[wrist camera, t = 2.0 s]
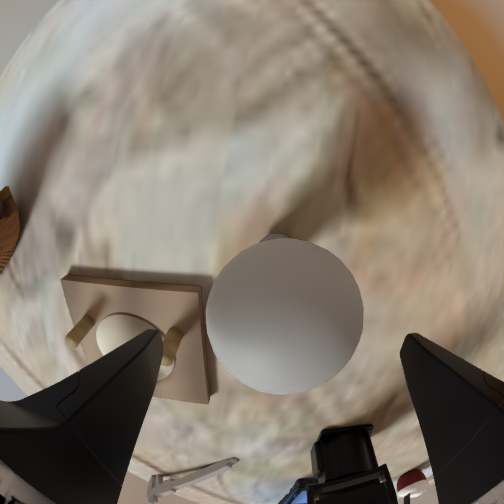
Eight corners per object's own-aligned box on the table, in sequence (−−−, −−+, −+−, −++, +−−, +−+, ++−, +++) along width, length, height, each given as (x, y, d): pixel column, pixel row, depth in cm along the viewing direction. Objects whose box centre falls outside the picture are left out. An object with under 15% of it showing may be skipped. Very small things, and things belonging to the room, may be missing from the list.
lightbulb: (321, 286, 19) (368, 413, 9) (233, 292, 19) (210, 426, 9) (321, 199, 17) (403, 272, 6) (223, 205, 17) (169, 289, 7)
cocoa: (426, 466, 34) (442, 506, 23) (401, 481, 36) (415, 521, 24) (412, 464, 32) (430, 511, 20) (384, 480, 33) (399, 526, 22)
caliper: (156, 476, 34) (149, 503, 28) (151, 474, 33) (143, 501, 28) (239, 458, 29) (236, 497, 23) (233, 455, 28) (230, 495, 22)
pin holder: (201, 286, 19) (187, 317, 15) (210, 396, 23) (204, 429, 20) (67, 274, 19) (39, 296, 16) (100, 377, 24) (85, 403, 20)
